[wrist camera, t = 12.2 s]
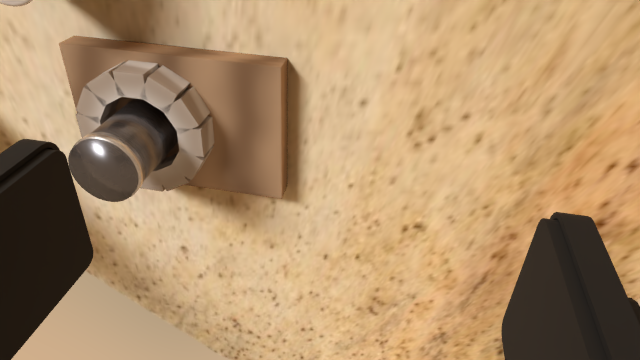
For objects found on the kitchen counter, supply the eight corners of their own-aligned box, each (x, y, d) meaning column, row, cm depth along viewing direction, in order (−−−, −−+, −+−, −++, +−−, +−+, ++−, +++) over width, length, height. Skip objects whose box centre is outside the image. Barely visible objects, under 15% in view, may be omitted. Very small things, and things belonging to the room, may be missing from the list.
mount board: (287, 58, 38) (272, 79, 34) (287, 186, 44) (274, 215, 41) (74, 35, 40) (38, 53, 37) (104, 160, 47) (76, 185, 43)
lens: (180, 97, 39) (130, 145, 33) (187, 152, 42) (142, 207, 35) (120, 89, 40) (58, 135, 33) (131, 144, 43) (76, 197, 36)
